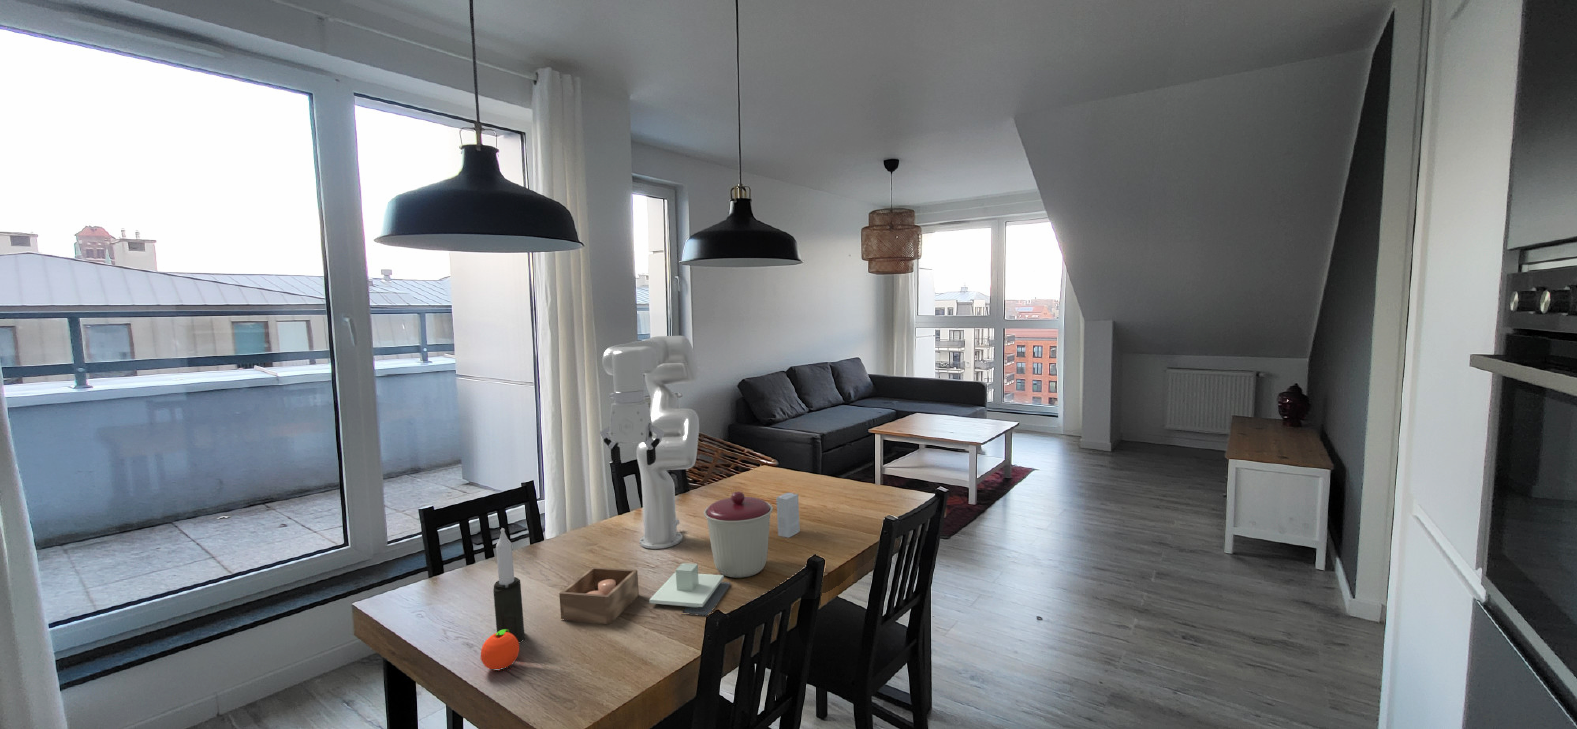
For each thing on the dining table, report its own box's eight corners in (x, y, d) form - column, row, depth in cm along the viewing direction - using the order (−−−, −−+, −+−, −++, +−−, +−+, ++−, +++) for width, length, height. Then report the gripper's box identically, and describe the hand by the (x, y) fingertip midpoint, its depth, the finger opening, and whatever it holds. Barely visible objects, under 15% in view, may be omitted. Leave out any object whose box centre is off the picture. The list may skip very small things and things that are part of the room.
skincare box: (788, 529, 191) (787, 492, 189) (800, 532, 188) (798, 494, 187) (777, 535, 186) (775, 497, 185) (788, 538, 183) (787, 499, 182)
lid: (675, 579, 156) (674, 553, 155) (723, 583, 153) (722, 556, 153) (649, 608, 142) (648, 579, 141) (702, 612, 139) (701, 582, 138)
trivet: (671, 580, 157) (670, 578, 157) (730, 584, 153) (730, 582, 153) (643, 611, 141) (643, 608, 141) (708, 616, 138) (708, 613, 138)
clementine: (493, 655, 125) (490, 622, 124) (528, 653, 125) (525, 620, 125) (475, 679, 117) (472, 644, 116) (512, 677, 117) (509, 641, 117)
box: (594, 594, 151) (592, 567, 150) (639, 597, 148) (637, 570, 147) (561, 623, 137) (559, 593, 136) (610, 627, 134) (608, 597, 134)
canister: (788, 566, 163) (786, 489, 161) (742, 591, 149) (738, 507, 148) (740, 551, 175) (736, 479, 173) (692, 573, 161) (688, 495, 159)
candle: (497, 651, 126) (488, 534, 124) (498, 639, 131) (489, 526, 129) (524, 645, 128) (515, 530, 126) (524, 634, 133) (515, 522, 131)
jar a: (604, 596, 148) (603, 578, 147) (619, 597, 147) (618, 579, 147) (595, 604, 144) (594, 586, 144) (611, 605, 143) (610, 587, 143)
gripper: (591, 399, 154) (595, 466, 155) (654, 399, 150) (658, 468, 152) (606, 395, 161) (610, 459, 163) (667, 395, 157) (671, 460, 159)
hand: (633, 463), depth 157 cm, fingers open, 9 cm apart
